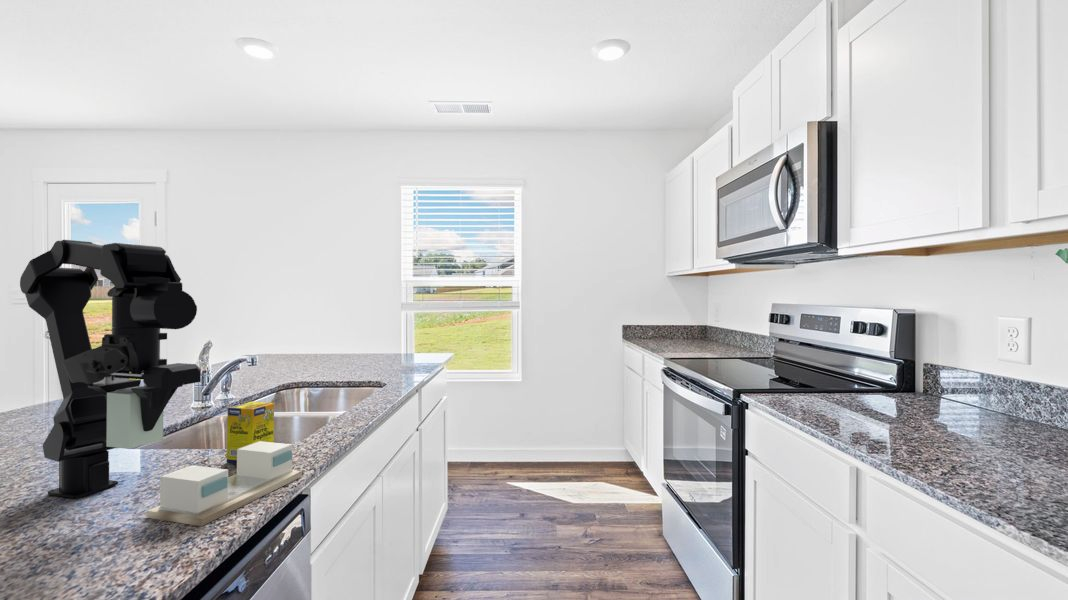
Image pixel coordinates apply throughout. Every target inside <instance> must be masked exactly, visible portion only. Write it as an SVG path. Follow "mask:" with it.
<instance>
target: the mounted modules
mask: <svg viewBox="0 0 1068 600" xmlns="http://www.w3.org/2000/svg"><path fill="white" fill-rule="evenodd" d="M292 469H293V444H291V443H281V442H280V443H279V442H274V443H273V442H263V441H259V442H256V443H253V444H250V445H248V446H245V447H242V448H239V449H237V464H236V474H237V475H239V476H248V477H256V478H264V479H272V478H274V477H277V476H279V475H281V474H283V473H285V472H287V471H290V470H292ZM159 477H160V479H159V482H160V483H159V487H160V488H159V489H160V490H159V498H160V499H159V506H160V507H163V508H170V509H177V510H183V511H190V512H197V513H199V512H201V511H203V510H205V509H207V508H210V507H212V506H214V505H216V504H218V503H220V502H223V501H225V500H227V499H228V477H229V469H226V468H220V467H219V468H217V467H211V466H210V467H208V466H202V465H188V466H186V467H184V468H181V469H178V470H175V471H172V472H169V473H166V474H163V475H161V476H159Z"/></svg>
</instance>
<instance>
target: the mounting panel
mask: <svg viewBox="0 0 1068 600" xmlns="http://www.w3.org/2000/svg"><path fill="white" fill-rule="evenodd" d="M236 475H237V473H235V474H233V475H231V476H228V479H229V478H231V477H234V476H236ZM302 477H303V470H298V469H293V471H292V472H290V473H288V474H286V475H284V476H282V477H279V478H277V479H275V480H273V481H271V482H269V483H267V484H264V485H262V486H260V487H258V488H256V489H254V490H252V491H250V492H247V493H245V494H243V495H241V496H239V497H237V498H235V499H232V500H230V501H228V502H226V503H224V504H222V505H220V506H218V507H215V508H213V509H211V510H209V511H207V512H205V513H203V514H200V515H198V516H192V515H185V514H178V513H172V512H165V511H158V508H159V507H160V505H157V506H155V507H153V508H150V509H148V510H147V511H146V518H147V519H153V520H159V521H160V520H161V521H168V522H173V523H178V524H186V525H191V526H192V525H193V526H199V527H203V526H205V525H208V524H210V523H211V522H214V521H215V520H218V519H220V518H222V517H223V516H225V515H228V514H230V513H231V512H233V511H235V510H237V509H239V508H242V507H243V506H245V505H246V506H247V504H250V503H252V502H253V501H256V500H258V499H259V498H262V497H264V496H265V495H268V494H270V493H271V492H274V491H275V490H278V489H280V488H281V487H283V486H286V485H288V484H290V483H292V482H294V481H296V480H298V479H300V478H302Z"/></svg>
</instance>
